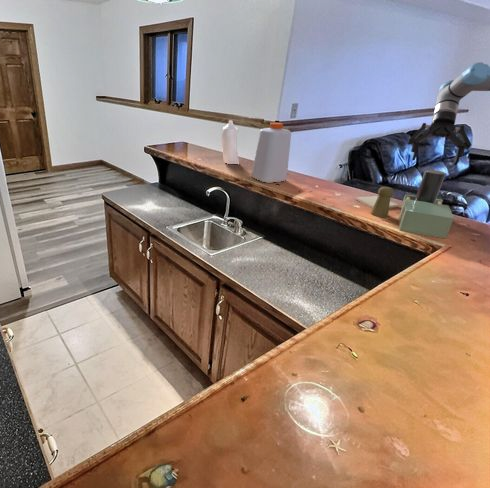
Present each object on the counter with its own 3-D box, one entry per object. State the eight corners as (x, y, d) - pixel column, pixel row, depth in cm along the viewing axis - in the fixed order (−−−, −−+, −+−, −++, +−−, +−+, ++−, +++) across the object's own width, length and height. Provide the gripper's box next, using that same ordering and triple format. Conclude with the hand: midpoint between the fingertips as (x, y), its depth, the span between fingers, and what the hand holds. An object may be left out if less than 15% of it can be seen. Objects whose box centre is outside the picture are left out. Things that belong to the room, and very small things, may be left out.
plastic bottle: (289, 181, 179) (299, 124, 166) (265, 184, 174) (273, 126, 161) (271, 174, 191) (279, 120, 179) (248, 176, 186) (254, 121, 174)
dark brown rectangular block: (434, 215, 134) (450, 173, 126) (420, 215, 133) (435, 174, 126) (421, 209, 139) (435, 169, 132) (407, 209, 138) (420, 170, 131)
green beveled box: (398, 217, 137) (405, 198, 133) (441, 224, 130) (448, 205, 127) (399, 230, 125) (406, 210, 122) (445, 238, 119) (454, 218, 116)
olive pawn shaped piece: (371, 210, 143) (378, 184, 138) (387, 213, 140) (396, 186, 135) (370, 215, 138) (378, 188, 133) (387, 218, 136) (396, 190, 131)
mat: (398, 207, 147) (399, 205, 146) (373, 208, 145) (373, 206, 144) (378, 198, 157) (379, 195, 157) (354, 199, 155) (355, 197, 155)
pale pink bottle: (231, 166, 206) (235, 122, 195) (216, 163, 212) (220, 120, 201) (242, 163, 213) (246, 120, 202) (227, 160, 220) (231, 118, 209)
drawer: (400, 204, 147) (405, 191, 144) (436, 210, 142) (441, 196, 139) (401, 218, 133) (406, 203, 131) (440, 225, 128) (446, 210, 125)
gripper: (479, 125, 139) (470, 170, 134) (406, 120, 150) (395, 161, 145) (487, 111, 132) (479, 159, 127) (410, 108, 143) (399, 151, 138)
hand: (434, 160), depth 136 cm, fingers open, 13 cm apart
